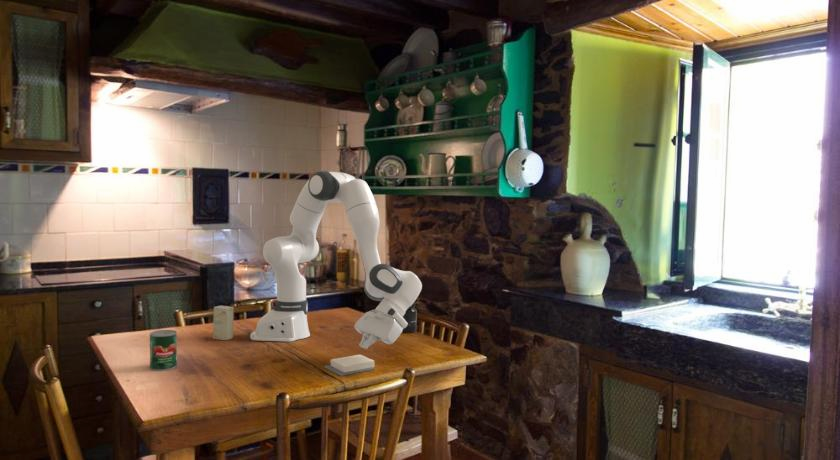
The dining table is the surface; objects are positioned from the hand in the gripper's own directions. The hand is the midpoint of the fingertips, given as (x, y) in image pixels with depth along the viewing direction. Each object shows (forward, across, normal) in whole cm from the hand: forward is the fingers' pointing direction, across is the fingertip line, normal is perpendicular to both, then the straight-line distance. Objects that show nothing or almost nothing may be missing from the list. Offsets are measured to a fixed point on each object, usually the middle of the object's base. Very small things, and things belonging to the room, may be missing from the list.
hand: (362, 347), depth 194 cm
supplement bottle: (-24, -31, +33) cm, 52 cm away
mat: (+8, 0, +1) cm, 8 cm away
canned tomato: (+42, -33, -33) cm, 63 cm away
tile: (+2, 0, +5) cm, 5 cm away
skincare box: (+23, -59, -13) cm, 65 cm away
